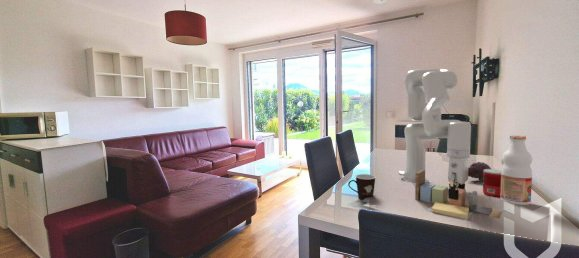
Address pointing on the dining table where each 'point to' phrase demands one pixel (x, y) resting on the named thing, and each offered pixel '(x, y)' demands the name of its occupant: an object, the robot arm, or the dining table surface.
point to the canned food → (492, 182)
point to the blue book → (426, 192)
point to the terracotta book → (459, 198)
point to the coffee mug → (364, 185)
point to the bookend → (474, 207)
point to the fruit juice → (516, 173)
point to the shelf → (421, 180)
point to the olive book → (439, 194)
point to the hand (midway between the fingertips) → (456, 195)
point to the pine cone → (477, 170)
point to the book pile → (451, 210)
